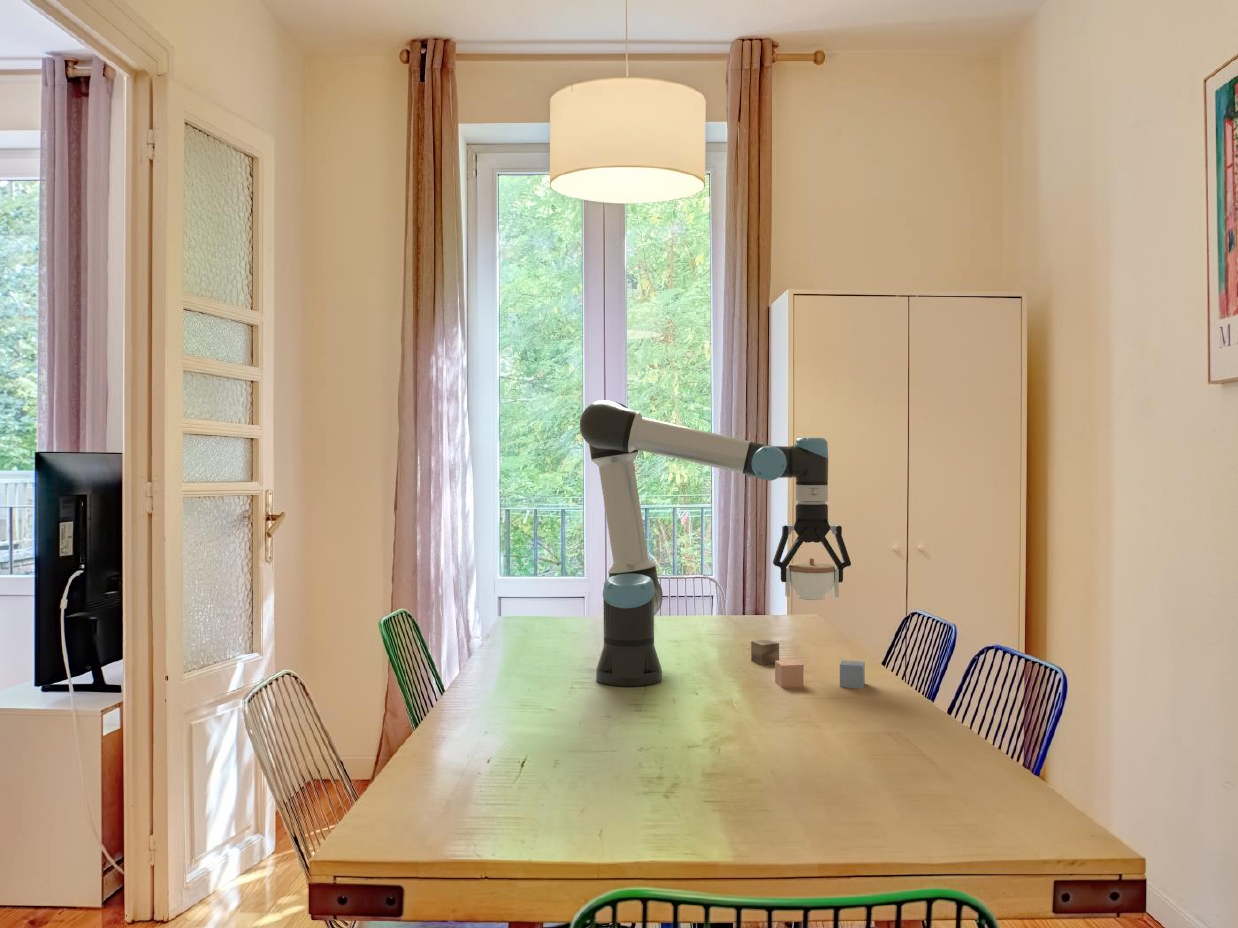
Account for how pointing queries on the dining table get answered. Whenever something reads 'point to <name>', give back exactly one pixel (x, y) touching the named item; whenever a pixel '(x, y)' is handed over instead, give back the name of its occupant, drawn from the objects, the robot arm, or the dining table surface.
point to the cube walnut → (764, 652)
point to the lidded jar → (811, 579)
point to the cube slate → (852, 674)
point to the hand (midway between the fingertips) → (811, 596)
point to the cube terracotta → (789, 673)
